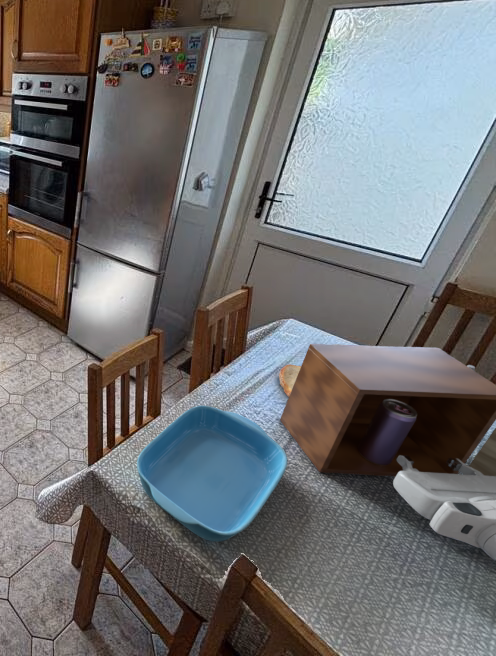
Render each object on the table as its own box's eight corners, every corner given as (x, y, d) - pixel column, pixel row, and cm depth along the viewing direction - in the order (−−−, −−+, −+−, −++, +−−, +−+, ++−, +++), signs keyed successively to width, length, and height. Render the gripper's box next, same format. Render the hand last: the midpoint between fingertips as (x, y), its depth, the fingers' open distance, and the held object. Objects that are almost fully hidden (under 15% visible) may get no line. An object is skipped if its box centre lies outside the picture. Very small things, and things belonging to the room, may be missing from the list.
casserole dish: (218, 579, 74) (228, 556, 71) (114, 492, 90) (118, 469, 87) (292, 469, 95) (302, 447, 92) (197, 413, 111) (202, 393, 108)
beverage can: (387, 471, 92) (416, 422, 86) (353, 454, 97) (379, 406, 90) (392, 457, 96) (420, 408, 89) (360, 441, 100) (384, 394, 94)
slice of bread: (322, 422, 107) (327, 411, 106) (256, 380, 122) (260, 370, 121) (362, 401, 114) (367, 391, 112) (295, 364, 129) (299, 354, 127)
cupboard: (453, 480, 92) (512, 395, 81) (319, 472, 94) (360, 389, 83) (395, 425, 106) (438, 347, 96) (279, 419, 108) (310, 343, 98)
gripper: (573, 517, 69) (489, 450, 82) (442, 509, 71) (379, 444, 83) (551, 541, 72) (473, 472, 84) (426, 532, 74) (367, 466, 86)
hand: (426, 458), depth 84 cm, fingers open, 8 cm apart
